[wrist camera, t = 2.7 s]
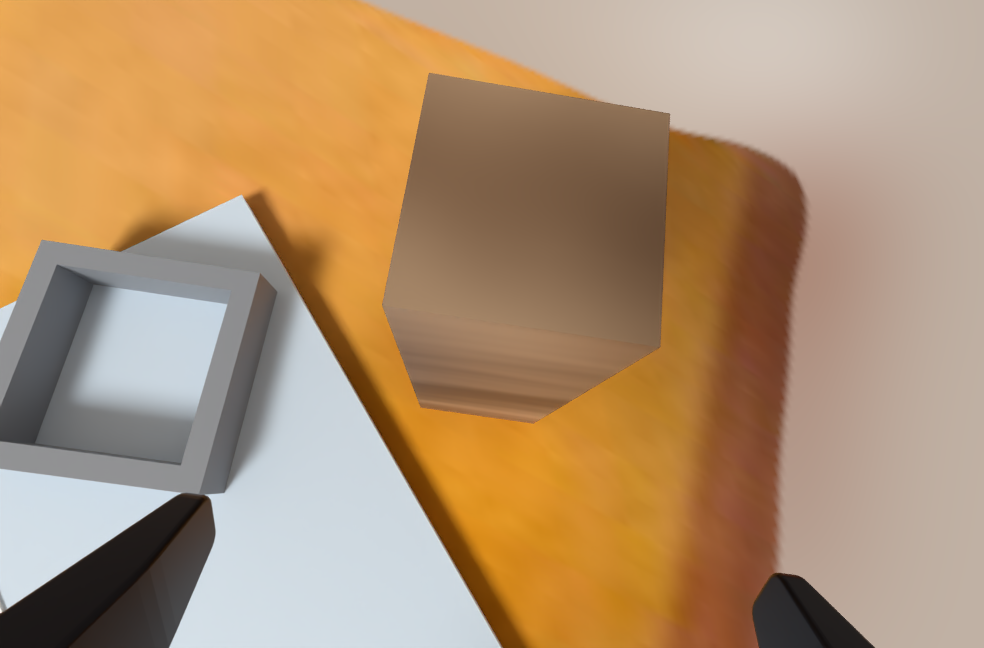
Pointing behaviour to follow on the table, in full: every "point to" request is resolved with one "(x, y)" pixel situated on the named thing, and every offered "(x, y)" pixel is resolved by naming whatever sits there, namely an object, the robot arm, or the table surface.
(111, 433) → the baseplate
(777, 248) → the table surface
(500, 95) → the pillar
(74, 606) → the robot arm
